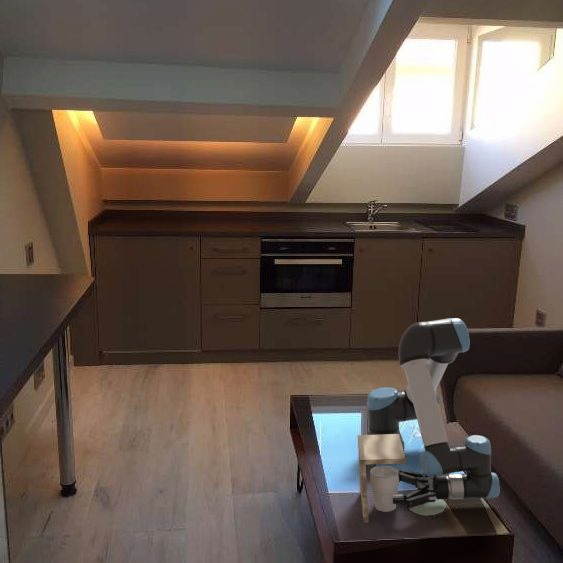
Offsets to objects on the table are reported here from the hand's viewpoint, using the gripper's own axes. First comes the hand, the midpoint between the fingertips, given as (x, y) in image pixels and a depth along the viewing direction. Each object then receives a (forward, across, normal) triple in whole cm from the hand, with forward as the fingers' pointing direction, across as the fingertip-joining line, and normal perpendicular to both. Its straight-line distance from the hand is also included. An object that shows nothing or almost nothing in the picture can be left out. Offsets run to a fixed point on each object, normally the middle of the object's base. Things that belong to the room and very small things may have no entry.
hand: (379, 488), depth 197 cm
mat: (-15, 0, -6) cm, 16 cm away
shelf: (-2, 0, -6) cm, 7 cm away
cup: (-2, 0, -7) cm, 7 cm away
